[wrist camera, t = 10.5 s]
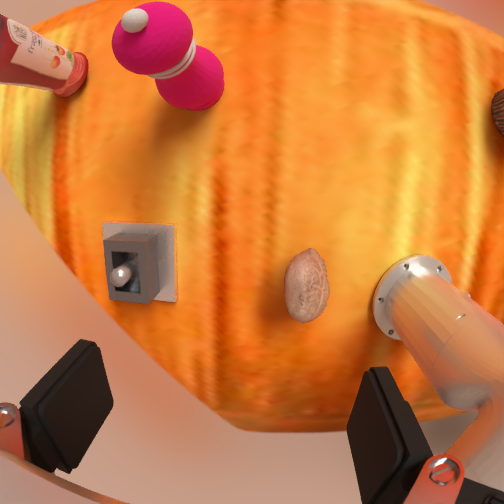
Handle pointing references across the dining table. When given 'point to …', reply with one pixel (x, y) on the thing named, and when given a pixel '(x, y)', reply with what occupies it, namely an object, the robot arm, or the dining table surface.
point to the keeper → (165, 255)
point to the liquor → (38, 61)
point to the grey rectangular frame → (147, 265)
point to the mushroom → (306, 286)
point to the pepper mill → (168, 55)
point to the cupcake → (498, 110)
